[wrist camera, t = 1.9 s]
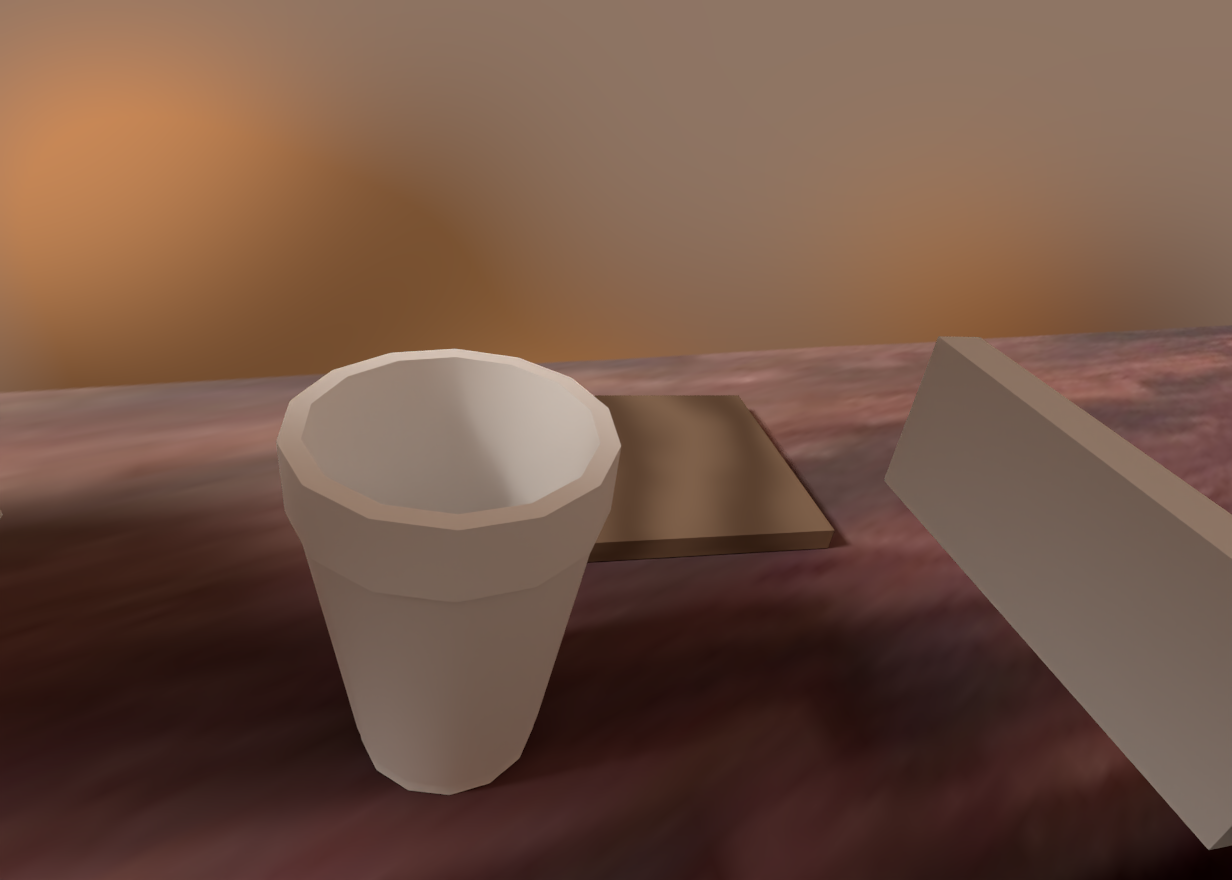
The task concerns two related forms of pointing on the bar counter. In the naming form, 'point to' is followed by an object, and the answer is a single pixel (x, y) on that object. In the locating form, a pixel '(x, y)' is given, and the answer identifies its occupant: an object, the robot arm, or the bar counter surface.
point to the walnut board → (701, 484)
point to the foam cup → (446, 545)
